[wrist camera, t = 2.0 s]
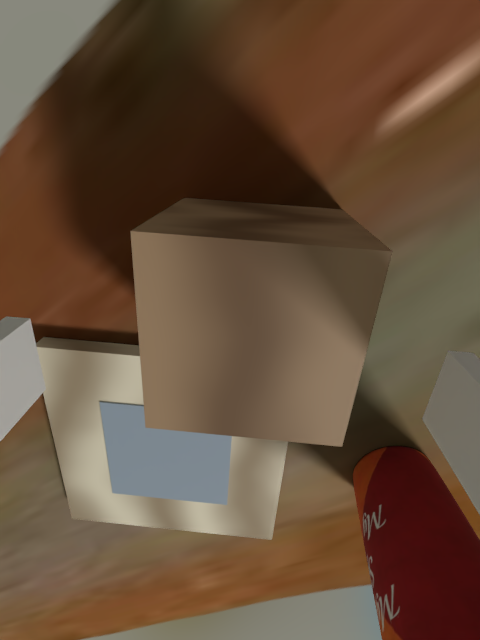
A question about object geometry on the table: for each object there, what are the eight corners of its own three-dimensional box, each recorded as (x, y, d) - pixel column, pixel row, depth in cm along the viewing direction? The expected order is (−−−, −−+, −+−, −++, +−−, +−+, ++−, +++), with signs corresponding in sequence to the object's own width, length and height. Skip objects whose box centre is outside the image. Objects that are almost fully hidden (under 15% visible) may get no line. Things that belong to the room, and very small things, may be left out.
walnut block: (341, 208, 18) (392, 251, 11) (316, 345, 21) (341, 446, 14) (184, 197, 18) (130, 231, 11) (185, 334, 22) (145, 427, 14)
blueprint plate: (298, 359, 22) (299, 371, 21) (271, 525, 29) (271, 541, 28) (43, 336, 22) (31, 347, 21) (79, 505, 29) (71, 519, 28)
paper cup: (318, 459, 25) (370, 767, 13) (424, 417, 23) (614, 742, 10) (365, 521, 28) (447, 829, 15) (464, 489, 26) (655, 819, 13)
